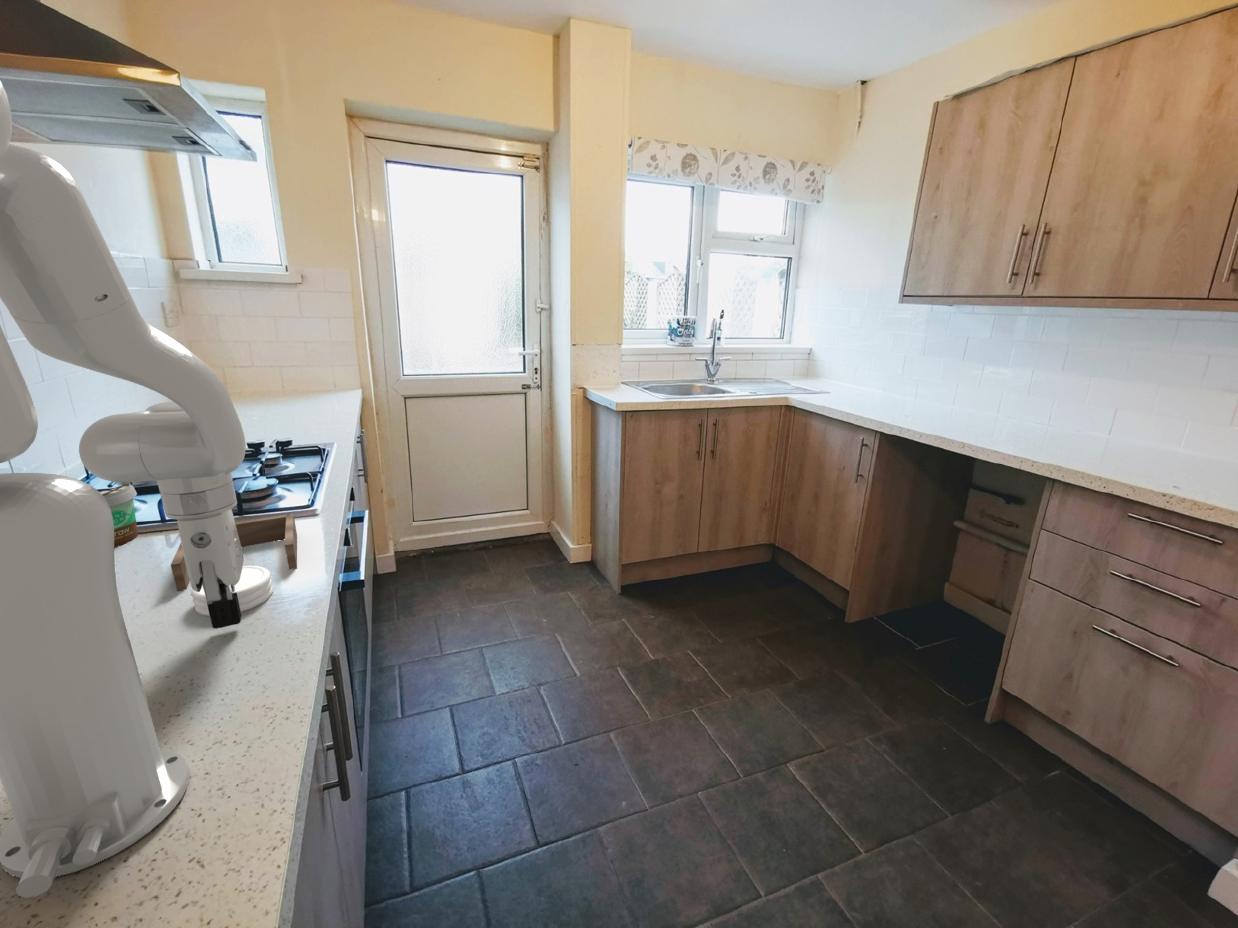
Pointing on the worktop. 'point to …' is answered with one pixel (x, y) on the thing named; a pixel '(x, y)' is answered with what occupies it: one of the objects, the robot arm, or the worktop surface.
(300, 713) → the worktop surface
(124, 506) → the food container
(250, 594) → the coaster
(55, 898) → the worktop surface
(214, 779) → the worktop surface
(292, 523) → the box
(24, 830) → the robot arm
